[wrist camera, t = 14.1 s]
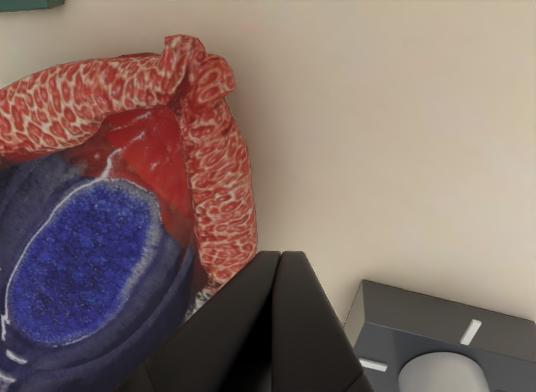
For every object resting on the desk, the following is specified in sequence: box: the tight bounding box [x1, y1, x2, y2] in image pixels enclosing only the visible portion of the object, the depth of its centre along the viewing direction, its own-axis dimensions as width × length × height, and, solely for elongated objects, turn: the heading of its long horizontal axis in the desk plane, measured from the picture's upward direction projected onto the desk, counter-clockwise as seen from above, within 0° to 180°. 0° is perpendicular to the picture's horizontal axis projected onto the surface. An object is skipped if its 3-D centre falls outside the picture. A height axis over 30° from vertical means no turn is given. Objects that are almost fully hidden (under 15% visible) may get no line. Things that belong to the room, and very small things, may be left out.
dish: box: [0, 35, 258, 392], centre depth 23 cm, size 16×31×5 cm, turn 141°
